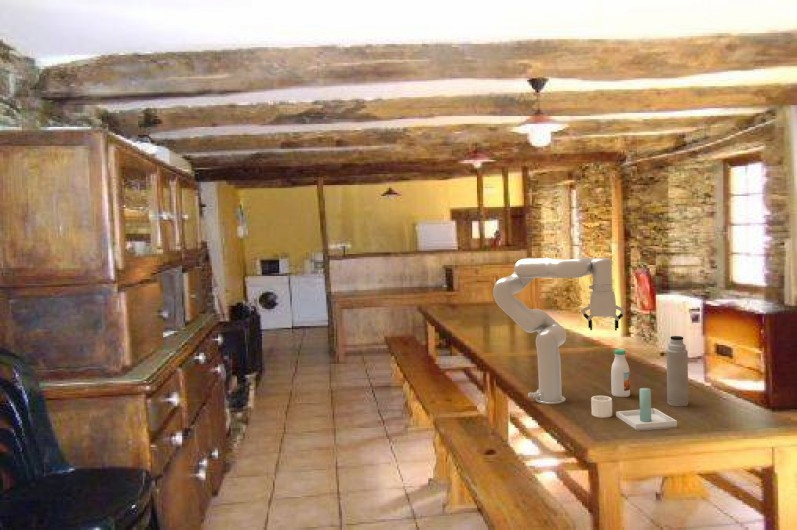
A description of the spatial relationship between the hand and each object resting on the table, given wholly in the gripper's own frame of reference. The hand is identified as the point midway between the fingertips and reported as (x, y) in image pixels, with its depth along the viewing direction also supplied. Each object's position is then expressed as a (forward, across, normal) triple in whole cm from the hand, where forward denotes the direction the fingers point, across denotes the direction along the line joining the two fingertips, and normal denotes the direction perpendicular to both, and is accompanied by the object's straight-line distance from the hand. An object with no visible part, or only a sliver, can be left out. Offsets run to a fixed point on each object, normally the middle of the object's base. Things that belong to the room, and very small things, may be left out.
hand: (603, 329), depth 263 cm
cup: (+32, -1, -12) cm, 34 cm away
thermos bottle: (+32, +28, +10) cm, 44 cm away
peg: (+32, +15, -17) cm, 39 cm away
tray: (+32, +15, -17) cm, 40 cm away
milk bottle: (+32, +6, +20) cm, 38 cm away
